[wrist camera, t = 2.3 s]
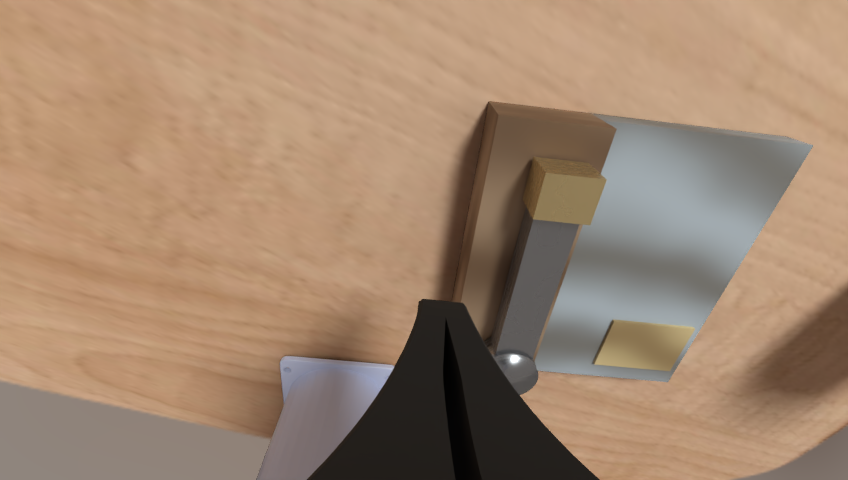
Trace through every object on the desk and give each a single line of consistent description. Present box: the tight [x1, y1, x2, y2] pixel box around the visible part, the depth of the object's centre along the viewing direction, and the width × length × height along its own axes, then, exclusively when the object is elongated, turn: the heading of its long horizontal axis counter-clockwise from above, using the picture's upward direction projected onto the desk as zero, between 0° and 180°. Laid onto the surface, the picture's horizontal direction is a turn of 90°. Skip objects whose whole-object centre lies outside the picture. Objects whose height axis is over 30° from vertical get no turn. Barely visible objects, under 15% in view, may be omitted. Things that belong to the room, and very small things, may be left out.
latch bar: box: [484, 157, 607, 395], centre depth 19 cm, size 13×3×2 cm, turn 173°
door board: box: [452, 101, 813, 382], centre depth 22 cm, size 16×15×3 cm
